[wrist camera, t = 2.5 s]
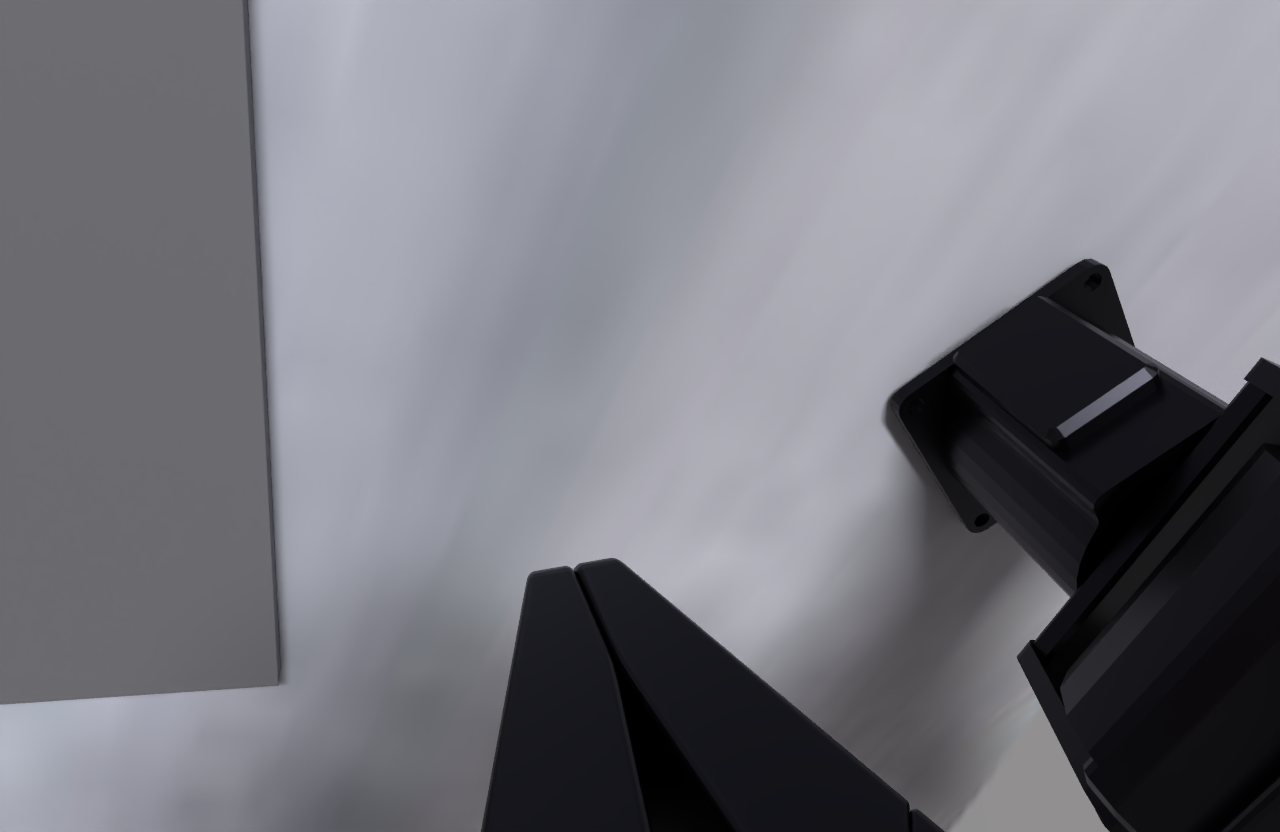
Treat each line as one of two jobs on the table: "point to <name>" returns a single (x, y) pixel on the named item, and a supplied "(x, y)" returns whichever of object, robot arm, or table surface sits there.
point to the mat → (131, 354)
